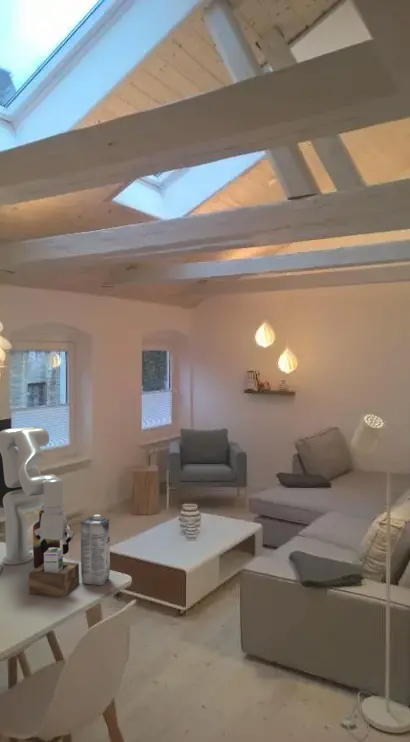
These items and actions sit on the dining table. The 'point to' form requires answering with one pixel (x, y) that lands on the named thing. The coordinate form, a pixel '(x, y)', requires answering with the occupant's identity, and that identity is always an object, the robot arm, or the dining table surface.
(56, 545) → the vase
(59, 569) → the syrup box
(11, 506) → the robot arm
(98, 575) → the juice carton
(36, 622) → the dining table surface
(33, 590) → the socket block
